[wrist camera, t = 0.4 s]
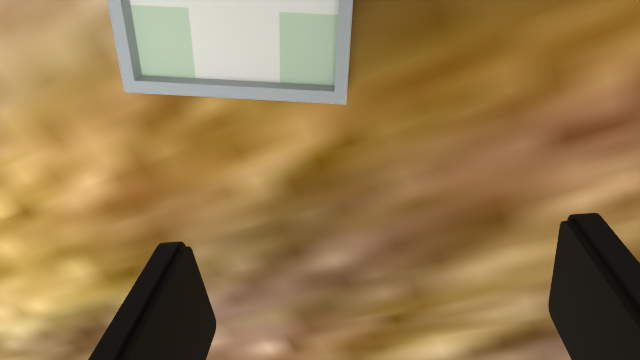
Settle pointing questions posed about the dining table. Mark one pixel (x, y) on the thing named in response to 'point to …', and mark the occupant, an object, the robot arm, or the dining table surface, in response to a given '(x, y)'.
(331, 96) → the trap box
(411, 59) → the dining table surface
